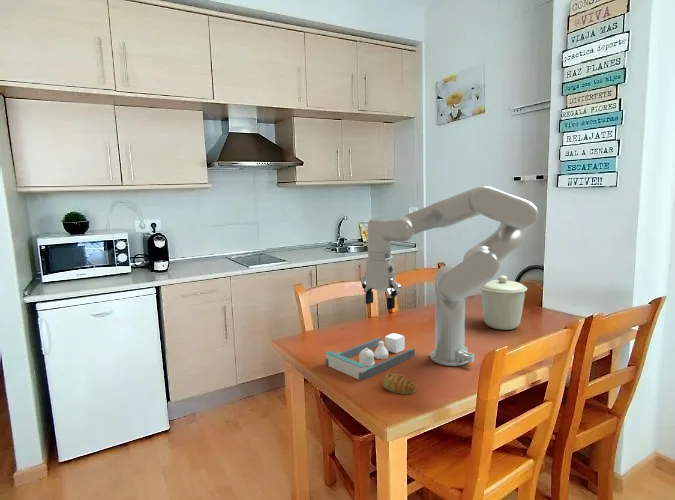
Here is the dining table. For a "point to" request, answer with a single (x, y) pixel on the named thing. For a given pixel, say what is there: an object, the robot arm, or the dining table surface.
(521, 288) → the canister
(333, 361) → the rail guide
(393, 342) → the container set
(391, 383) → the pastry
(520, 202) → the robot arm
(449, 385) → the dining table surface
